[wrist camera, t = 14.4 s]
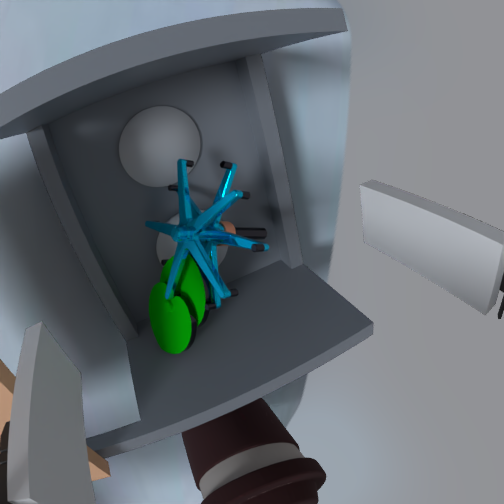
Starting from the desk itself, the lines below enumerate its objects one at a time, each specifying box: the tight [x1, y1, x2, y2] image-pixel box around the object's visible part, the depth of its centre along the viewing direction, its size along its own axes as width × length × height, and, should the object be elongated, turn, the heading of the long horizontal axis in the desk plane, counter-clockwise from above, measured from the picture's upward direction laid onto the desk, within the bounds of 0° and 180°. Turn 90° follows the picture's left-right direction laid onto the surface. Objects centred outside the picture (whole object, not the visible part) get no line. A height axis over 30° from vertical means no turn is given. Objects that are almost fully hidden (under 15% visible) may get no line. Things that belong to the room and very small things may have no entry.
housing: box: [0, 8, 373, 458], centre depth 14 cm, size 32×17×10 cm, turn 104°
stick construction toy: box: [145, 159, 269, 354], centre depth 19 cm, size 12×7×8 cm, turn 160°
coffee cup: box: [182, 398, 326, 504], centre depth 23 cm, size 10×10×15 cm
